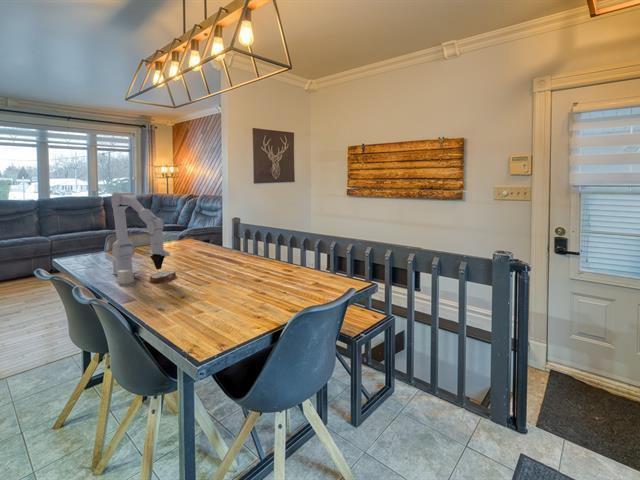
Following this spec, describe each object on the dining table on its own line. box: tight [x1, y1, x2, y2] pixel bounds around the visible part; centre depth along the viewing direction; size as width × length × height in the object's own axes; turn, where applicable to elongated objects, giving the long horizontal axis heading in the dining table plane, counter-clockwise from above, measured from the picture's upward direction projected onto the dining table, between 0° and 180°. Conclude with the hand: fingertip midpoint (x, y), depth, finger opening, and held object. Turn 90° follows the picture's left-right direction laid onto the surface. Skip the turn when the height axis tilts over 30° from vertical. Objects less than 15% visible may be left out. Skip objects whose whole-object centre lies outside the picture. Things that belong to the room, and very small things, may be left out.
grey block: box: [116, 269, 135, 285], centre depth 177 cm, size 5×5×6 cm
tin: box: [149, 270, 177, 284], centre depth 183 cm, size 15×3×8 cm
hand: (158, 269), depth 182 cm, fingers closed
